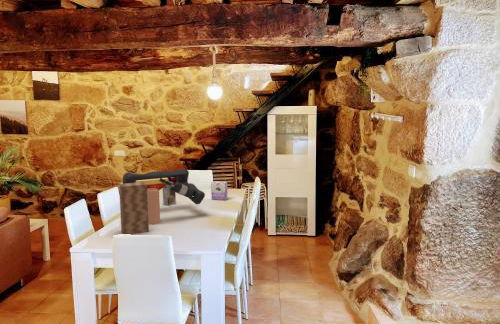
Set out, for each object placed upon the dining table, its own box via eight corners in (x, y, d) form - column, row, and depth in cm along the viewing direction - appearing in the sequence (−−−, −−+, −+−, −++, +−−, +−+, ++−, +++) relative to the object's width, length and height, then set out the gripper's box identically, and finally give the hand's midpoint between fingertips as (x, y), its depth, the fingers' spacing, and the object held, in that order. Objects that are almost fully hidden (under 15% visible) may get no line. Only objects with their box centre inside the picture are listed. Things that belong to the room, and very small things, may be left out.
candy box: (227, 199, 348) (227, 181, 346) (225, 200, 343) (225, 182, 341) (213, 198, 352) (213, 180, 350) (211, 199, 346) (210, 181, 344)
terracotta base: (157, 220, 282) (156, 188, 279) (160, 223, 274) (159, 190, 271) (144, 221, 278) (143, 189, 275) (147, 224, 270) (146, 191, 267)
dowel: (167, 181, 279) (166, 177, 279) (168, 182, 276) (168, 178, 276) (136, 184, 269) (135, 180, 269) (137, 185, 266) (136, 181, 266)
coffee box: (171, 202, 335) (170, 184, 333) (176, 204, 331) (175, 185, 329) (162, 204, 328) (162, 186, 326) (167, 206, 324) (167, 187, 322)
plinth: (145, 227, 264) (143, 181, 259) (148, 231, 255) (146, 184, 251) (121, 231, 257) (119, 184, 252) (123, 235, 248) (121, 186, 244)
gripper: (179, 182, 289) (159, 172, 281) (185, 185, 277) (164, 175, 269) (174, 191, 288) (154, 182, 280) (180, 195, 276) (159, 185, 268)
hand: (159, 179), depth 275 cm, fingers closed on dowel, 3 cm apart
